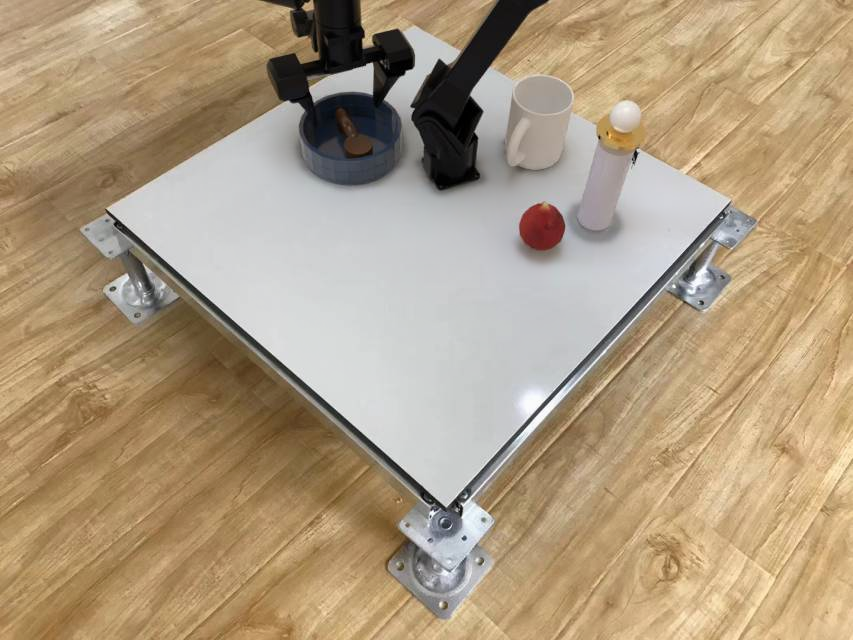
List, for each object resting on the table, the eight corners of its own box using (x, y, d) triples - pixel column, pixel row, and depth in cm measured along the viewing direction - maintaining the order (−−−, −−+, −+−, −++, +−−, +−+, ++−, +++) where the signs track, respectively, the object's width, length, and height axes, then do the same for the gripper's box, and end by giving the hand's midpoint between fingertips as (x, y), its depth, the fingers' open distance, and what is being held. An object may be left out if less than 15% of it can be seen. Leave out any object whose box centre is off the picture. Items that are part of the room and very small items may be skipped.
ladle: (377, 165, 108) (376, 147, 105) (350, 173, 107) (349, 155, 104) (353, 120, 113) (352, 102, 110) (327, 127, 112) (325, 109, 109)
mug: (529, 196, 106) (540, 139, 98) (479, 170, 109) (485, 113, 100) (571, 147, 112) (585, 90, 103) (522, 124, 114) (532, 66, 106)
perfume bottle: (595, 244, 101) (632, 128, 85) (563, 219, 104) (593, 101, 87) (623, 223, 104) (665, 106, 87) (591, 199, 106) (626, 80, 89)
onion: (564, 236, 102) (575, 194, 96) (554, 268, 99) (564, 227, 92) (522, 224, 103) (530, 182, 96) (510, 255, 100) (518, 214, 93)
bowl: (380, 106, 116) (379, 82, 112) (416, 169, 108) (417, 145, 105) (289, 130, 112) (285, 105, 108) (321, 196, 105) (318, 172, 101)
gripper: (384, -36, 100) (386, 64, 113) (245, -6, 96) (264, 94, 109) (417, 12, 95) (415, 111, 108) (271, 46, 90) (287, 146, 103)
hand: (345, 114), depth 107 cm, fingers open, 9 cm apart
